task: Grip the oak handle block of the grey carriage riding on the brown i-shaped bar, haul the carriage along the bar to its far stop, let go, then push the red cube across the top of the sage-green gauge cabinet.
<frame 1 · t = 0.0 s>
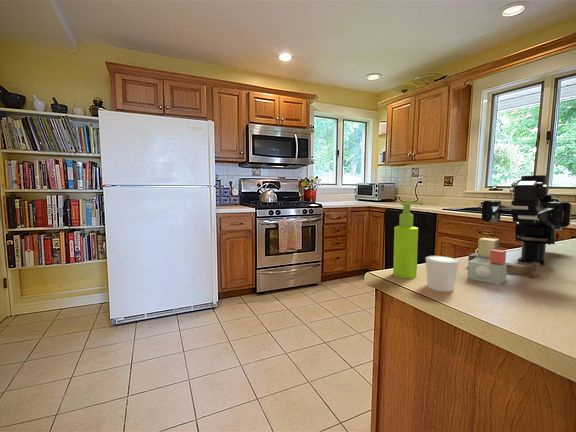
hand: (514, 214, 73), 17 cm above the countertop, tool horizontal, fingers open, 9 cm apart
red cube: (497, 256, 72), point 6 cm above the countertop, slide at 0.0 cm
carriage: (488, 252, 84), point 4 cm above the countertop, slide at 0.0 cm
brown i-shaped bar: (501, 270, 81), on the countertop
gauge cabinet: (486, 279, 74), on the countertop
soap dispenser: (406, 276, 78), on the countertop
white cup: (440, 288, 68), on the countertop
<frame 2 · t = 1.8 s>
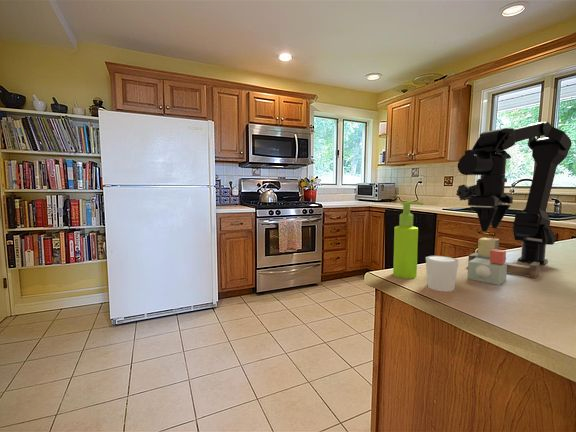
hand: (489, 229, 83), 11 cm above the countertop, tool pointing down, fingers open, 9 cm apart
nothing on the countertop moved.
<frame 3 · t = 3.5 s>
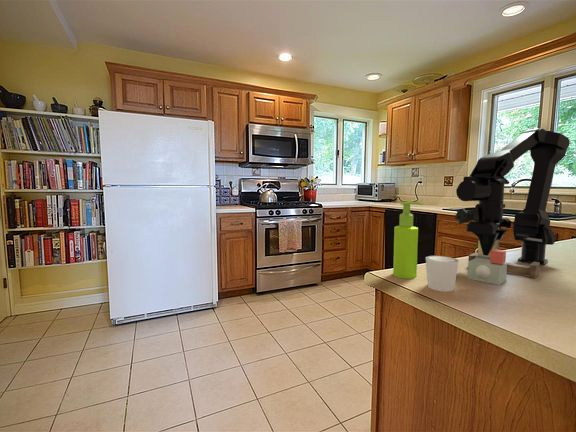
hand: (488, 254, 84), 4 cm above the countertop, tool pointing down, fingers closed on carriage, 4 cm apart
carriage: (488, 252, 84), point 4 cm above the countertop, slide at 0.0 cm, touching gripper
everything else where it was.
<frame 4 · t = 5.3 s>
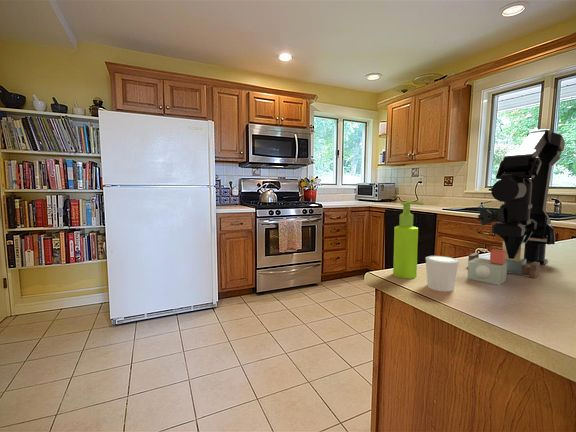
hand: (513, 257, 79), 4 cm above the countertop, tool pointing down, fingers closed on carriage, 4 cm apart
carriage: (512, 256, 79), point 4 cm above the countertop, slide at 5.9 cm, touching gripper
everything else where it was.
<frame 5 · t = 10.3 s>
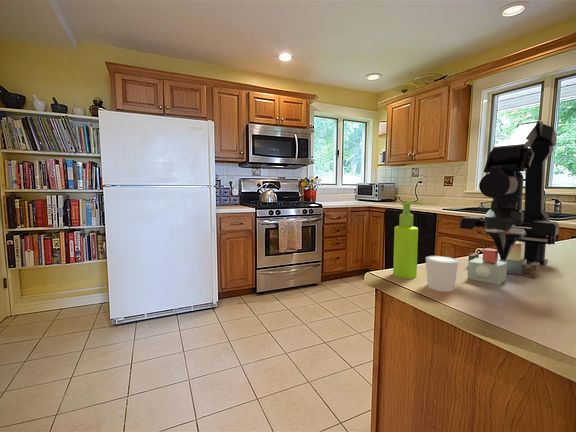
hand: (503, 260, 71), 6 cm above the countertop, tool pointing down, fingers closed
red cube: (490, 255, 73), point 6 cm above the countertop, slide at 1.6 cm, touching gripper
carriage: (513, 256, 79), point 4 cm above the countertop, slide at 5.9 cm
everything else where it was.
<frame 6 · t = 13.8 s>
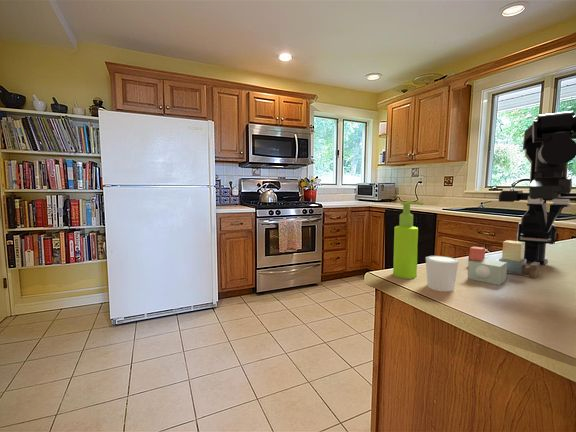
hand: (545, 232, 70), 12 cm above the countertop, tool pointing down, fingers closed
red cube: (477, 253, 75), point 6 cm above the countertop, slide at 4.5 cm
everything else where it was.
at the end: carriage slide at 5.9 cm; red cube slide at 4.5 cm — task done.
